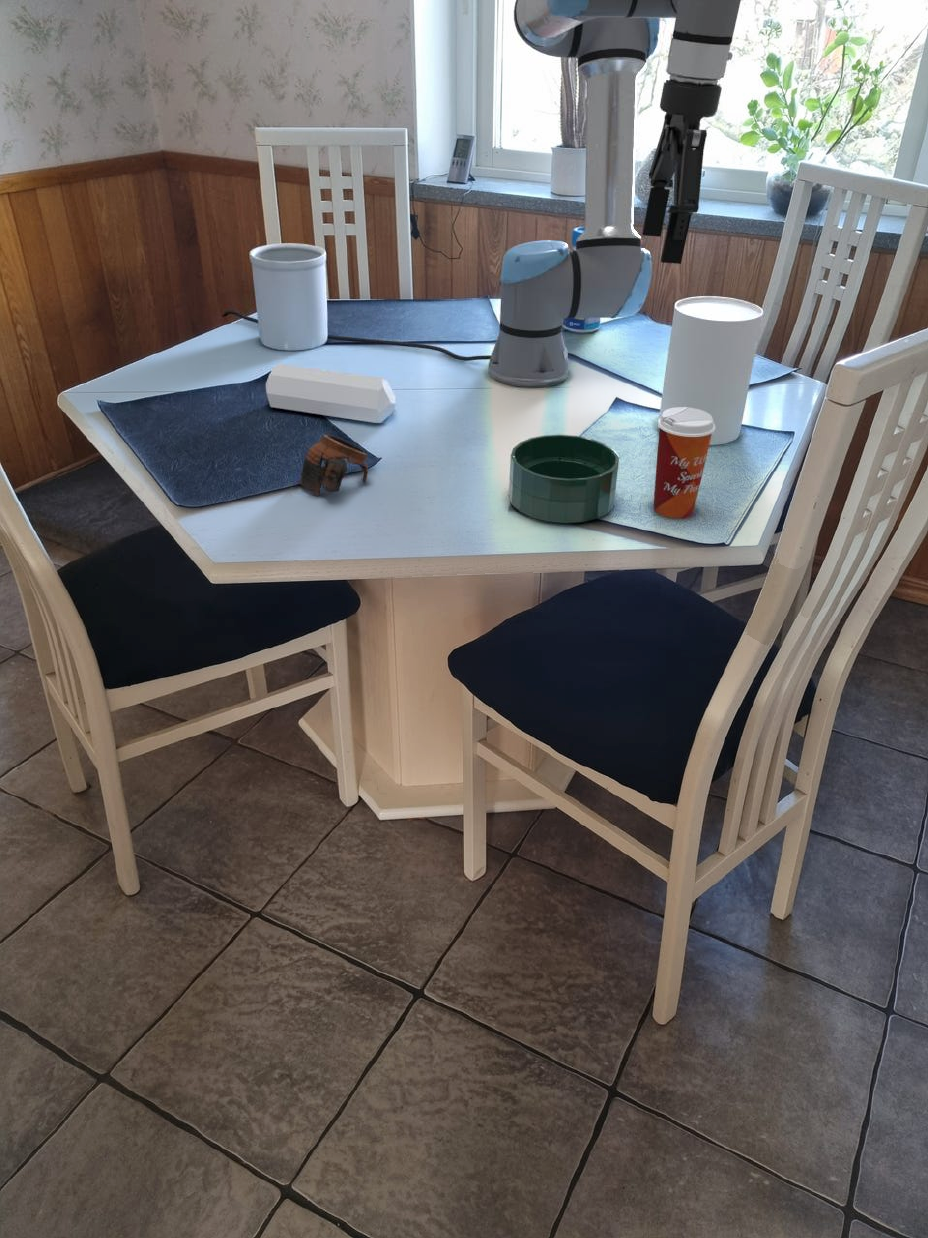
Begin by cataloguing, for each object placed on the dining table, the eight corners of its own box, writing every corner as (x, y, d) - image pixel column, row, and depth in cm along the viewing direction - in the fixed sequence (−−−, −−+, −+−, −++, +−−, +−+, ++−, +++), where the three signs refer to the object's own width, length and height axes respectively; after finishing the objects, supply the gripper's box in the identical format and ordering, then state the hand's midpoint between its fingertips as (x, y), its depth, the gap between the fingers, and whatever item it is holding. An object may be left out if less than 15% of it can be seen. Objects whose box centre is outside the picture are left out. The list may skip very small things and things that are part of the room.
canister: (688, 450, 150) (708, 325, 139) (642, 419, 160) (658, 301, 149) (756, 437, 154) (781, 315, 143) (708, 408, 165) (727, 292, 153)
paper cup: (668, 526, 129) (683, 431, 121) (635, 503, 134) (647, 410, 126) (712, 514, 132) (730, 421, 124) (678, 492, 137) (692, 401, 129)
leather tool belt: (293, 477, 141) (314, 426, 139) (351, 500, 144) (372, 451, 142) (297, 493, 130) (319, 437, 128) (359, 518, 133) (382, 464, 131)
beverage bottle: (602, 334, 199) (612, 234, 188) (562, 333, 199) (570, 233, 188) (598, 321, 206) (607, 225, 195) (560, 321, 206) (567, 224, 195)
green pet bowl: (491, 510, 132) (493, 464, 128) (534, 470, 143) (537, 427, 139) (591, 535, 126) (595, 488, 122) (628, 492, 137) (633, 447, 133)
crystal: (407, 387, 160) (283, 369, 167) (393, 378, 154) (263, 360, 160) (400, 430, 161) (276, 411, 168) (385, 423, 154) (256, 404, 161)
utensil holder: (346, 337, 195) (341, 249, 185) (298, 357, 184) (291, 264, 174) (292, 325, 201) (284, 239, 191) (243, 343, 191) (232, 253, 181)
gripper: (748, 96, 112) (707, 276, 124) (699, 69, 132) (667, 226, 144) (687, 91, 111) (652, 272, 124) (647, 64, 131) (620, 223, 144)
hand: (660, 248), depth 134 cm, fingers open, 13 cm apart
